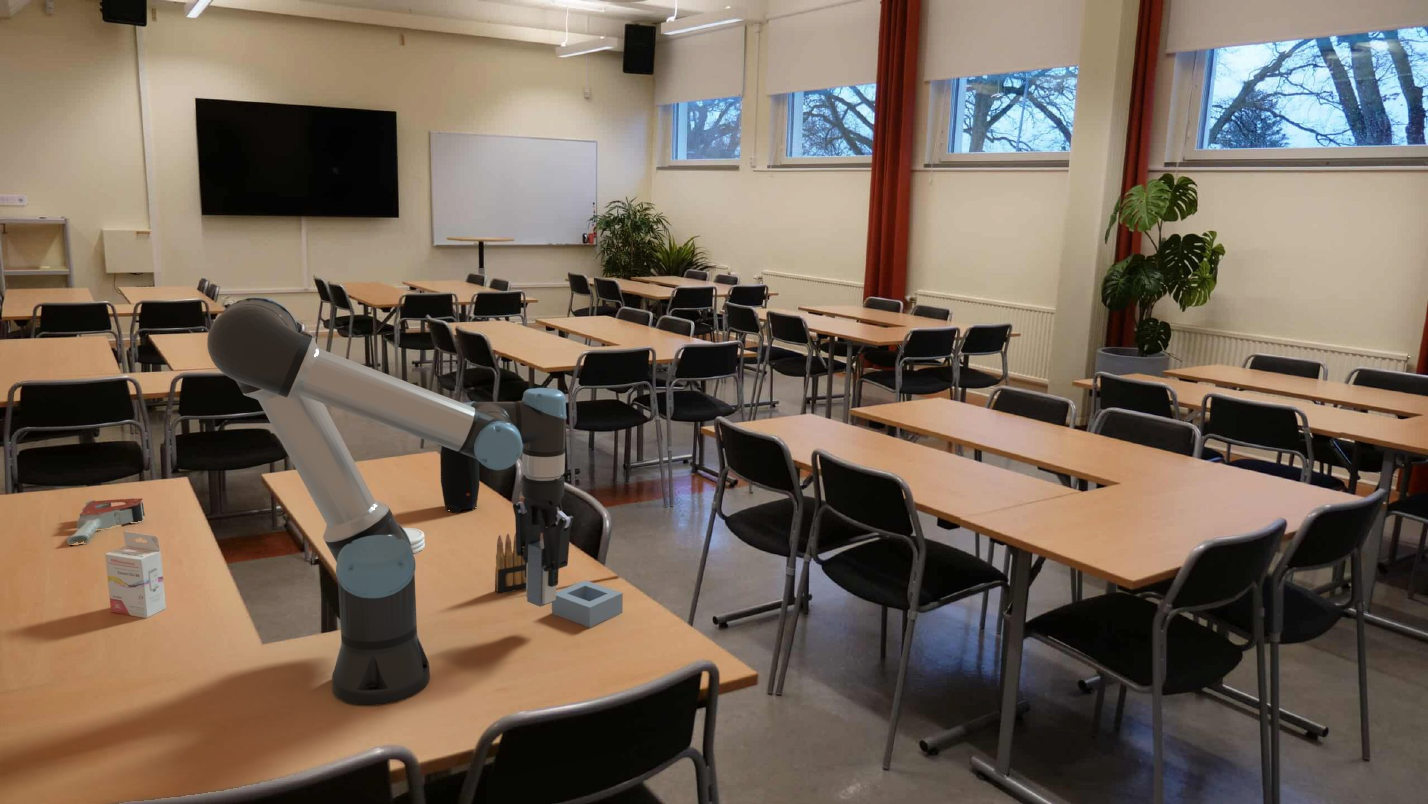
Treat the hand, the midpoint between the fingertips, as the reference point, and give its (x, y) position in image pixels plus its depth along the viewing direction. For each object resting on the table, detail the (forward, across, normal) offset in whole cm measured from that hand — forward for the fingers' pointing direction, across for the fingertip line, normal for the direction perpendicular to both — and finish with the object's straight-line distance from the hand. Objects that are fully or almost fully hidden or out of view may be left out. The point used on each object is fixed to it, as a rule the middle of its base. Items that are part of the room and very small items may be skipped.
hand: (540, 597), depth 184 cm
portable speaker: (+7, +68, -36) cm, 77 cm away
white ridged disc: (+7, +54, -9) cm, 56 cm away
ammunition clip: (+6, +18, -11) cm, 22 cm away
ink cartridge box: (+9, +64, +43) cm, 77 cm away
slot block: (+6, -2, -11) cm, 12 cm away
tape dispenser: (+9, +117, +28) cm, 121 cm away
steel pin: (+1, 0, 0) cm, 1 cm away
